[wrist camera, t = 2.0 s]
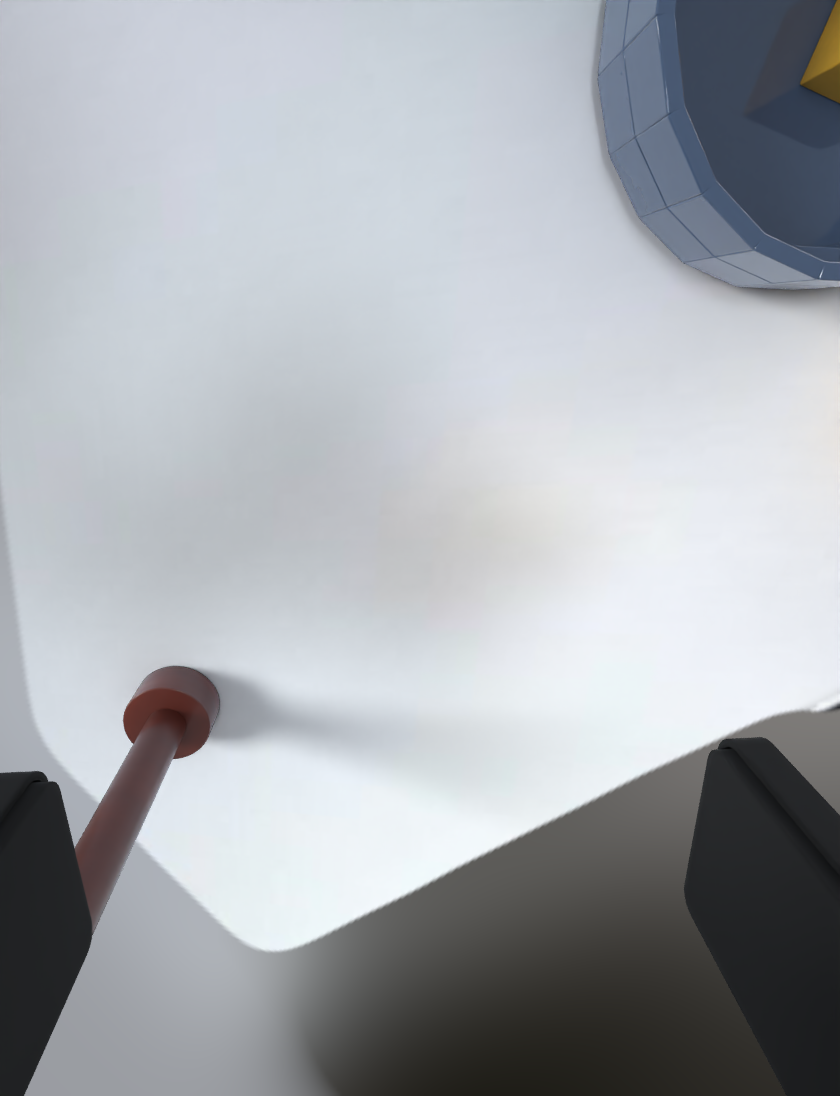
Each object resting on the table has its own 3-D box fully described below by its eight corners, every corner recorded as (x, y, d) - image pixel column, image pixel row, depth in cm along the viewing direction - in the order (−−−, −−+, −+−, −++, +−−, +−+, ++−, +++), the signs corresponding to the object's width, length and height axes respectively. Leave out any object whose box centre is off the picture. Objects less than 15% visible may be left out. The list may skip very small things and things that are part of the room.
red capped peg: (122, 708, 32) (-54, 982, 19) (164, 651, 31) (10, 897, 18) (192, 747, 33) (72, 1032, 20) (235, 693, 32) (138, 954, 19)
